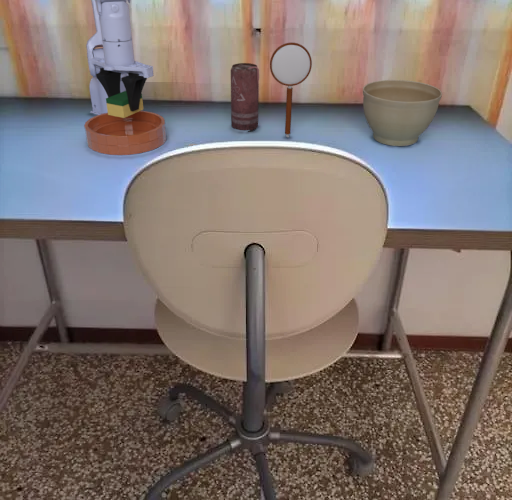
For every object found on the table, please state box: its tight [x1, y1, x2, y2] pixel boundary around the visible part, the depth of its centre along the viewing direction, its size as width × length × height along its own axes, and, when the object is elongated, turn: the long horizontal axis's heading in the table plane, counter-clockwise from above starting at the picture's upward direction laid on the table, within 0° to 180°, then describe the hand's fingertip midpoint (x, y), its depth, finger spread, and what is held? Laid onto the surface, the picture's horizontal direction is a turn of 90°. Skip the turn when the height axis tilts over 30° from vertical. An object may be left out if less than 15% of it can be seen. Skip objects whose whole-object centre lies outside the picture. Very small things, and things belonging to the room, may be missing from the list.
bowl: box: [83, 110, 167, 156], centre depth 114 cm, size 16×16×4 cm
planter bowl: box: [362, 79, 443, 147], centre depth 116 cm, size 16×16×11 cm
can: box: [230, 62, 260, 133], centre depth 120 cm, size 6×6×14 cm
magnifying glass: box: [269, 42, 313, 139], centre depth 114 cm, size 9×2×20 cm, turn 92°
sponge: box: [106, 91, 144, 118], centre depth 112 cm, size 6×4×3 cm, turn 153°
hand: (125, 108), depth 112 cm, fingers closed on sponge, 4 cm apart
